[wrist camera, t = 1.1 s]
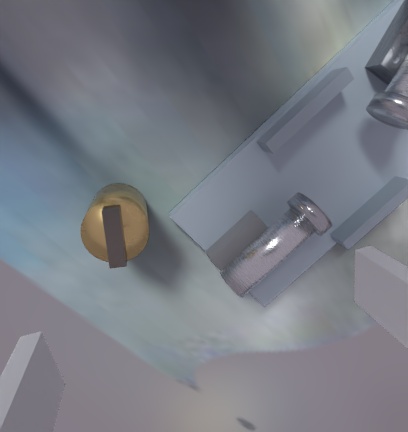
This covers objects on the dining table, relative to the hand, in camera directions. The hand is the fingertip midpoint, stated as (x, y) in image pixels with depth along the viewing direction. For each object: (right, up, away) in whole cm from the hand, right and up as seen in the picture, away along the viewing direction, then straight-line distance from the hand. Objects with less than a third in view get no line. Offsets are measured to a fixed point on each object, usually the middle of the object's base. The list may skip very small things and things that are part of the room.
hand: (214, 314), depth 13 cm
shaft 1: (+5, +2, +17) cm, 18 cm away
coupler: (-8, +5, +16) cm, 19 cm away
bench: (+12, +10, +19) cm, 24 cm away
